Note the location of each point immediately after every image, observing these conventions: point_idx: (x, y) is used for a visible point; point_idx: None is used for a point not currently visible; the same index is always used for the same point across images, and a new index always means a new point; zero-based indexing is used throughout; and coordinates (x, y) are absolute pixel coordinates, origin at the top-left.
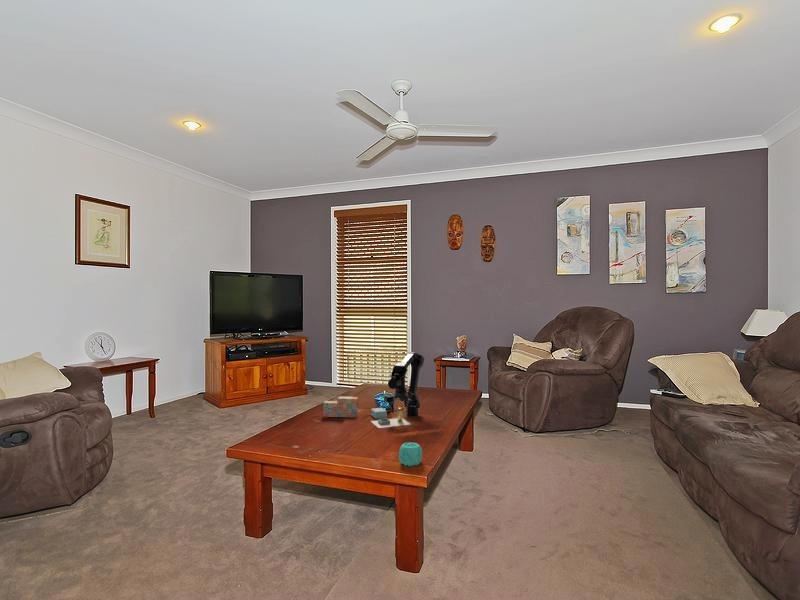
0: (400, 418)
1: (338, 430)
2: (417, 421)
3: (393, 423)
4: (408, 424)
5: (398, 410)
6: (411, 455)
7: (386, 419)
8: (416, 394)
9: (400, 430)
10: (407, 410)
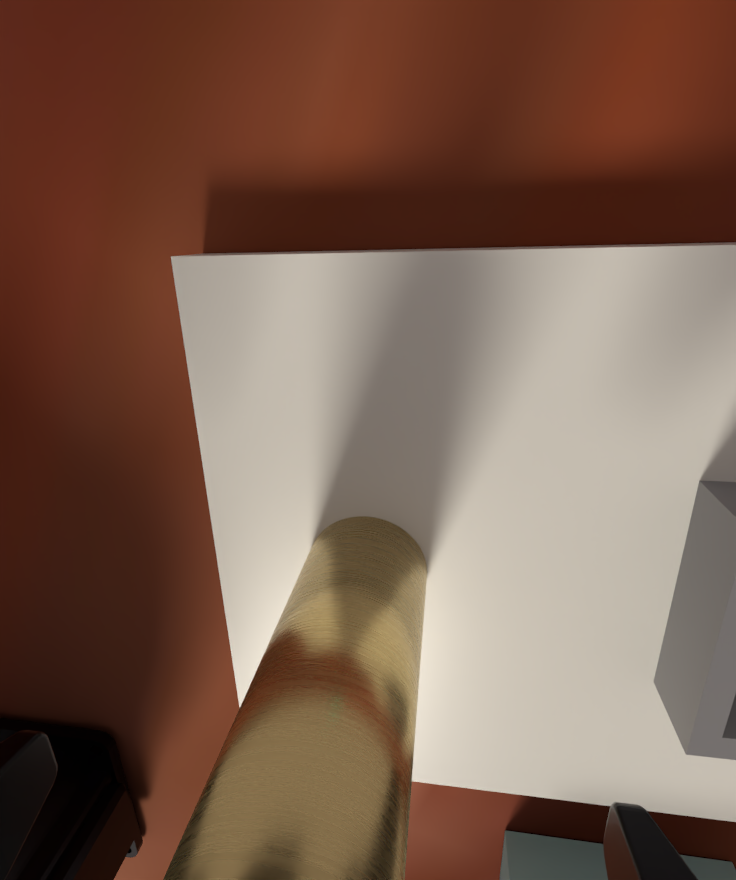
0: (365, 576)
1: None
2: (11, 560)
3: (587, 501)
4: (247, 265)
5: (389, 857)
6: None
7: (713, 716)
8: None
9: (593, 13)
10: (9, 766)
